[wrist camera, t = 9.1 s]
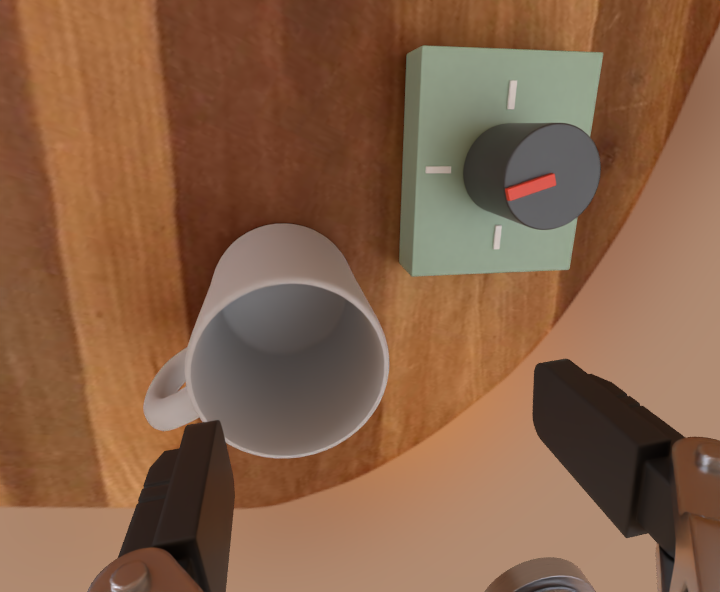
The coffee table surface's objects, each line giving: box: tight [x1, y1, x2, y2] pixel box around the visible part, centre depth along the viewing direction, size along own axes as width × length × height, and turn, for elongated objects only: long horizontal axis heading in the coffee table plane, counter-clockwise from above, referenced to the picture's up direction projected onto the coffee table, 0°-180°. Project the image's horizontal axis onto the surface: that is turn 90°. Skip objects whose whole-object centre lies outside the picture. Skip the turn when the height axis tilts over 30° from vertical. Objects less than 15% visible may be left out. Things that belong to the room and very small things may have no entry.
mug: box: [144, 223, 389, 458], centre depth 25 cm, size 12×8×11 cm
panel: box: [399, 45, 603, 277], centre depth 28 cm, size 12×10×3 cm
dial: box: [463, 123, 601, 230], centre depth 24 cm, size 5×5×5 cm
